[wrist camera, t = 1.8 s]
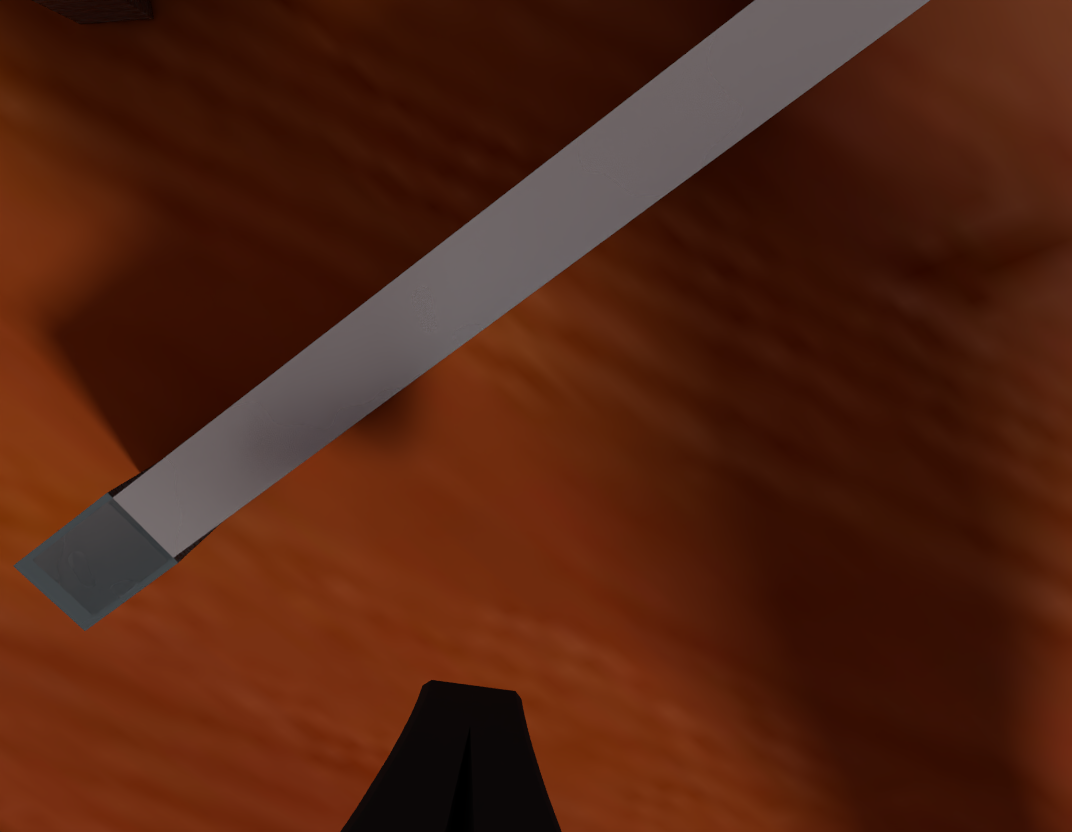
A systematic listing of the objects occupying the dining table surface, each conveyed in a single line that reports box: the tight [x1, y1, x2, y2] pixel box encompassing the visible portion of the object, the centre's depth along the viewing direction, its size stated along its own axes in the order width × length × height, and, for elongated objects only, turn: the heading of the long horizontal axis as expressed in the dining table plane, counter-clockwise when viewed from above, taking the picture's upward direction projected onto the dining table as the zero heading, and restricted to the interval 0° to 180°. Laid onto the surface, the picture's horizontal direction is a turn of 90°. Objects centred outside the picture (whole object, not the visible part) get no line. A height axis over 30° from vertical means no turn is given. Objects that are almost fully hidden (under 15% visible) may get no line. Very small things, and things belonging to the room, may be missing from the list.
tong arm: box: [14, 0, 930, 631], centre depth 9 cm, size 16×3×3 cm, turn 126°
